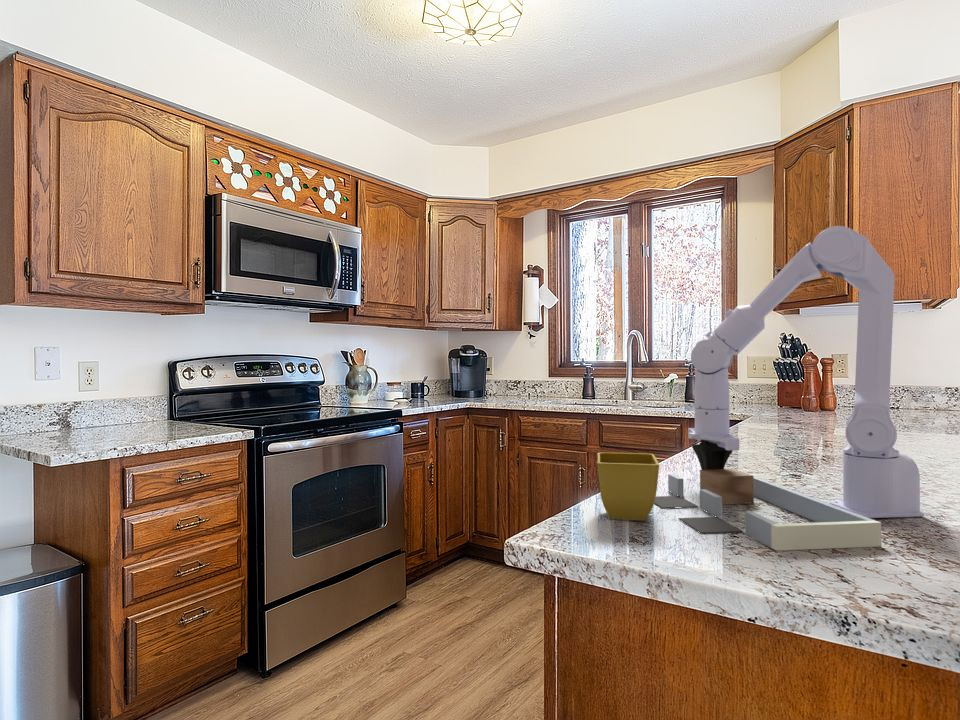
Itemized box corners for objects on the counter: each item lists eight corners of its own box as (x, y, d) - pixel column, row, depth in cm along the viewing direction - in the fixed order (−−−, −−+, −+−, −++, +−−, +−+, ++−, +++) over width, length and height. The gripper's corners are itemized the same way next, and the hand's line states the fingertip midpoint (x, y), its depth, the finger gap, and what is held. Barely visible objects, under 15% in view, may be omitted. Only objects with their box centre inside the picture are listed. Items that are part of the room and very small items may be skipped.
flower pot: (660, 526, 81) (659, 463, 81) (597, 523, 83) (597, 462, 83) (654, 510, 90) (653, 453, 90) (597, 507, 92) (597, 452, 92)
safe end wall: (875, 543, 73) (875, 520, 73) (881, 546, 72) (881, 522, 72) (771, 548, 72) (771, 524, 72) (776, 550, 71) (776, 526, 71)
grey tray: (742, 488, 104) (742, 472, 104) (875, 543, 73) (875, 520, 73) (668, 490, 102) (668, 474, 102) (771, 548, 72) (771, 524, 72)
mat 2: (717, 518, 85) (717, 516, 85) (743, 532, 78) (743, 530, 78) (678, 519, 84) (678, 518, 84) (701, 533, 78) (701, 532, 78)
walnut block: (731, 494, 100) (731, 468, 100) (753, 502, 94) (753, 475, 94) (700, 495, 99) (699, 469, 99) (720, 504, 93) (720, 477, 93)
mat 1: (679, 496, 98) (679, 495, 98) (698, 507, 91) (698, 506, 91) (645, 497, 97) (645, 496, 97) (662, 508, 90) (662, 507, 90)
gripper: (672, 405, 107) (673, 476, 108) (710, 412, 93) (710, 495, 93) (708, 404, 108) (708, 475, 108) (751, 411, 94) (751, 494, 94)
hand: (712, 484), depth 101 cm, fingers closed
